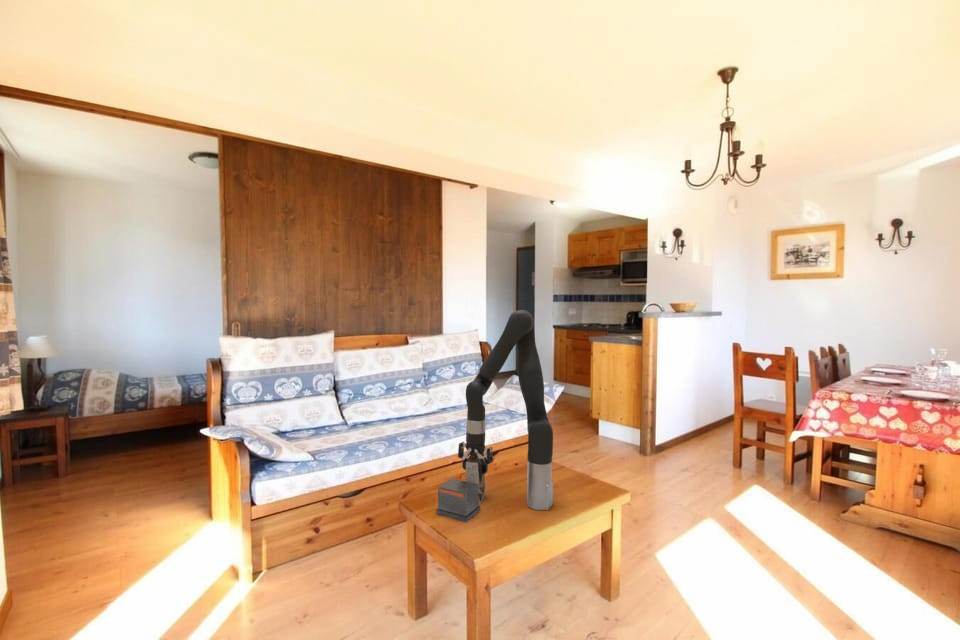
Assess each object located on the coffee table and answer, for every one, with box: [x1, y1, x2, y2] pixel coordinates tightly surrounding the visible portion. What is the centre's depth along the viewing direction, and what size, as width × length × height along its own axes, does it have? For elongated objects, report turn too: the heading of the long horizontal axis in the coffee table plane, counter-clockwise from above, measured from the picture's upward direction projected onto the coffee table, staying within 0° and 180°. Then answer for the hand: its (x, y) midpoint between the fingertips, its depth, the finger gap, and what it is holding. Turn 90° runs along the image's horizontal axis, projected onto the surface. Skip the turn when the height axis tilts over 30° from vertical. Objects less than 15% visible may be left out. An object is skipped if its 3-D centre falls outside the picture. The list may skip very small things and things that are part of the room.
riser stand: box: [435, 477, 481, 523], centre depth 166 cm, size 13×10×10 cm
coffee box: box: [465, 455, 486, 505], centre depth 177 cm, size 9×6×16 cm
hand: (474, 471), depth 177 cm, fingers open, 8 cm apart
